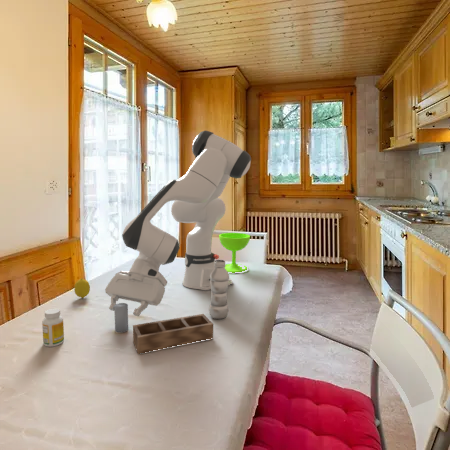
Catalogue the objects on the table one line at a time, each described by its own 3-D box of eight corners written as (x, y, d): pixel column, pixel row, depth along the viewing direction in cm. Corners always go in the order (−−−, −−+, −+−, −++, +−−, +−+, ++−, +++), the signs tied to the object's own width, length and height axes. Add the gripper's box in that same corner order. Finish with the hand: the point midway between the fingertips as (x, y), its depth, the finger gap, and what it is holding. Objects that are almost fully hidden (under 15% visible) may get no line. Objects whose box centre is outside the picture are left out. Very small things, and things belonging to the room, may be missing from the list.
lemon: (84, 301, 129) (83, 281, 128) (71, 300, 130) (70, 280, 129) (93, 296, 134) (92, 277, 133) (80, 295, 135) (79, 275, 134)
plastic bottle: (208, 313, 120) (209, 258, 117) (227, 313, 121) (228, 258, 118) (209, 321, 114) (210, 263, 111) (229, 321, 114) (230, 263, 111)
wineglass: (218, 265, 184) (219, 232, 181) (248, 265, 184) (249, 233, 181) (217, 273, 168) (218, 238, 166) (249, 274, 168) (250, 238, 165)
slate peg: (127, 325, 109) (126, 302, 108) (129, 331, 106) (128, 306, 104) (114, 328, 108) (113, 304, 106) (115, 333, 104) (115, 308, 103)
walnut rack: (203, 328, 109) (203, 313, 108) (212, 339, 101) (213, 324, 101) (133, 341, 99) (132, 325, 99) (138, 354, 92) (138, 337, 92)
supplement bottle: (40, 347, 95) (38, 315, 93) (47, 338, 100) (45, 307, 98) (61, 346, 96) (59, 314, 94) (66, 337, 101) (64, 306, 99)
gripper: (113, 265, 115) (92, 302, 108) (164, 273, 107) (145, 314, 100) (122, 274, 120) (103, 311, 112) (171, 283, 112) (154, 322, 104)
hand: (123, 312), depth 106 cm, fingers open, 8 cm apart
